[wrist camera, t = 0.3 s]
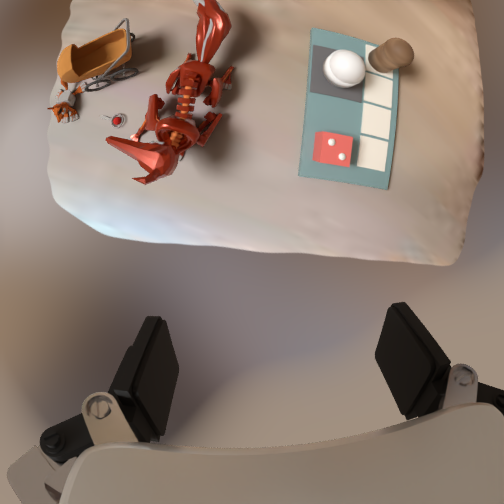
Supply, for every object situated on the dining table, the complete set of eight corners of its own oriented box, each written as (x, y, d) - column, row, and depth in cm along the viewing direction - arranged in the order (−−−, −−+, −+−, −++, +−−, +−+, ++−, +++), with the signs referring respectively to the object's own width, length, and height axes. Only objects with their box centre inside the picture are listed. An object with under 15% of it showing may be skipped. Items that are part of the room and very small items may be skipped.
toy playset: (45, 137, 33) (-11, 145, 20) (99, 2, 24) (57, -27, 11) (227, 196, 39) (218, 224, 26) (296, 39, 29) (319, -4, 16)
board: (310, 30, 28) (319, 16, 23) (394, 54, 29) (412, 46, 24) (298, 175, 37) (306, 180, 32) (383, 188, 38) (400, 195, 33)
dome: (323, 50, 27) (334, 39, 23) (359, 59, 28) (373, 50, 23) (321, 83, 29) (332, 76, 25) (357, 91, 30) (372, 86, 25)
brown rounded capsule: (367, 45, 28) (392, 29, 20) (391, 54, 28) (419, 41, 20) (367, 68, 29) (392, 56, 22) (391, 77, 29) (420, 67, 22)
